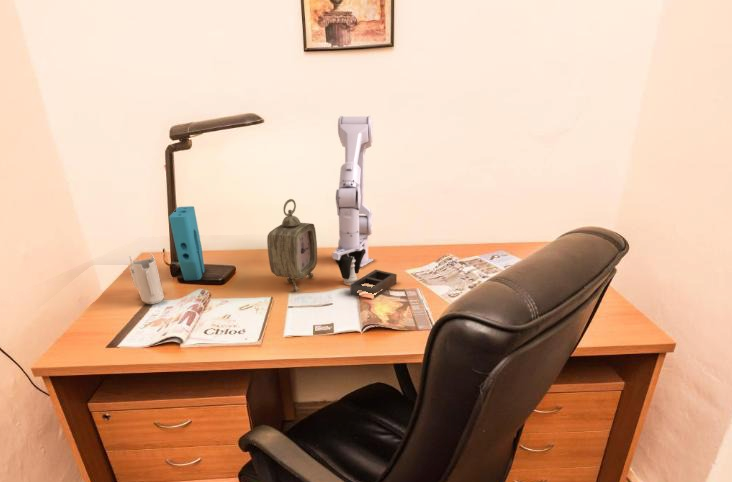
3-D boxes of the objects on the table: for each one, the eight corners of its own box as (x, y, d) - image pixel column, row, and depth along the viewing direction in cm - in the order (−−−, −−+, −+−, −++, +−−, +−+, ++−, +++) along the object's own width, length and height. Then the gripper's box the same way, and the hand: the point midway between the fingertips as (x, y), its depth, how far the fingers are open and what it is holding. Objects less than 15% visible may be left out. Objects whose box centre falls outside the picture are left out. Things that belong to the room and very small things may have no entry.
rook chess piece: (345, 286, 144) (344, 261, 140) (341, 281, 148) (340, 255, 144) (359, 284, 145) (359, 259, 141) (356, 279, 149) (355, 254, 145)
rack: (372, 299, 136) (372, 289, 134) (350, 294, 139) (350, 284, 138) (396, 283, 145) (396, 274, 144) (375, 278, 149) (375, 269, 147)
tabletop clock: (298, 295, 139) (290, 207, 127) (270, 291, 142) (260, 204, 129) (318, 276, 151) (313, 194, 138) (292, 273, 153) (285, 192, 141)
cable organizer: (159, 288, 144) (150, 250, 138) (167, 304, 135) (157, 263, 129) (135, 293, 141) (125, 254, 135) (141, 309, 132) (130, 268, 126)
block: (190, 268, 158) (177, 206, 148) (206, 267, 159) (194, 206, 149) (182, 282, 148) (168, 217, 138) (199, 281, 148) (186, 216, 138)
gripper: (346, 239, 131) (347, 286, 138) (374, 226, 142) (374, 270, 148) (325, 235, 134) (327, 281, 141) (354, 223, 145) (355, 266, 152)
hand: (350, 275), depth 145 cm, fingers open, 4 cm apart
